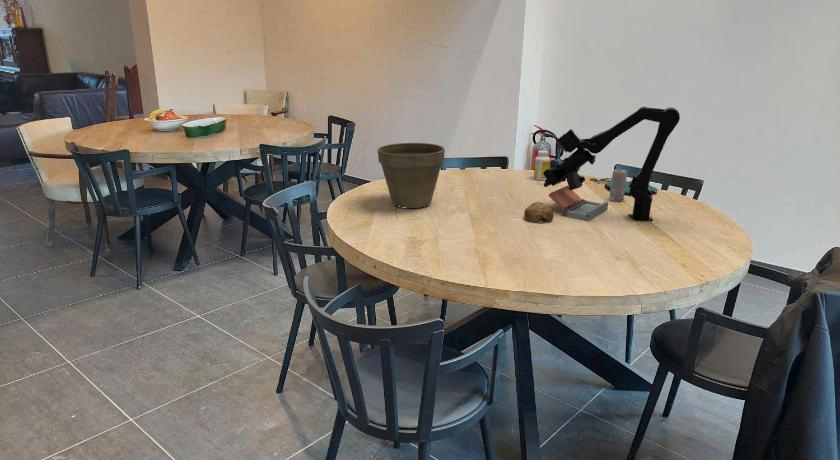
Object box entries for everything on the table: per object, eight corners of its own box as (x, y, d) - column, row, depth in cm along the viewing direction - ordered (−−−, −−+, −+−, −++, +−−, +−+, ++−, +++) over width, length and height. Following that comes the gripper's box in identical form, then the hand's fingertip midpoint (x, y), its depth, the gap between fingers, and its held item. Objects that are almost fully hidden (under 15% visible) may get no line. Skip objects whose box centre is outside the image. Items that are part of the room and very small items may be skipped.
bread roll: (528, 232, 194) (534, 215, 188) (517, 213, 201) (523, 196, 195) (553, 230, 196) (560, 213, 191) (542, 211, 203) (548, 194, 198)
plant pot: (369, 210, 205) (368, 152, 198) (388, 193, 227) (388, 140, 220) (435, 215, 199) (437, 155, 192) (448, 198, 222) (450, 144, 215)
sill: (587, 205, 213) (587, 199, 212) (566, 216, 199) (567, 210, 199) (581, 204, 214) (582, 198, 214) (561, 215, 201) (561, 208, 200)
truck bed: (607, 209, 208) (608, 201, 207) (588, 221, 195) (589, 212, 194) (586, 205, 213) (587, 197, 212) (566, 216, 200) (567, 208, 199)
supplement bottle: (550, 178, 255) (553, 151, 250) (545, 181, 249) (548, 153, 245) (536, 176, 258) (538, 149, 254) (531, 179, 253) (533, 151, 248)
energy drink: (621, 198, 223) (625, 169, 220) (624, 202, 218) (628, 172, 214) (607, 198, 224) (611, 168, 220) (610, 201, 219) (614, 171, 215)
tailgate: (581, 198, 212) (567, 185, 214) (564, 207, 201) (550, 193, 203) (579, 201, 213) (565, 188, 215) (562, 210, 202) (547, 196, 204)
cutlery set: (622, 197, 225) (623, 192, 224) (584, 181, 253) (585, 176, 252) (665, 195, 230) (666, 190, 229) (623, 180, 257) (624, 175, 257)
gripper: (577, 184, 193) (546, 208, 203) (598, 174, 207) (567, 198, 217) (558, 158, 196) (528, 184, 206) (580, 151, 209) (550, 175, 219)
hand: (544, 186), depth 212 cm, fingers closed
